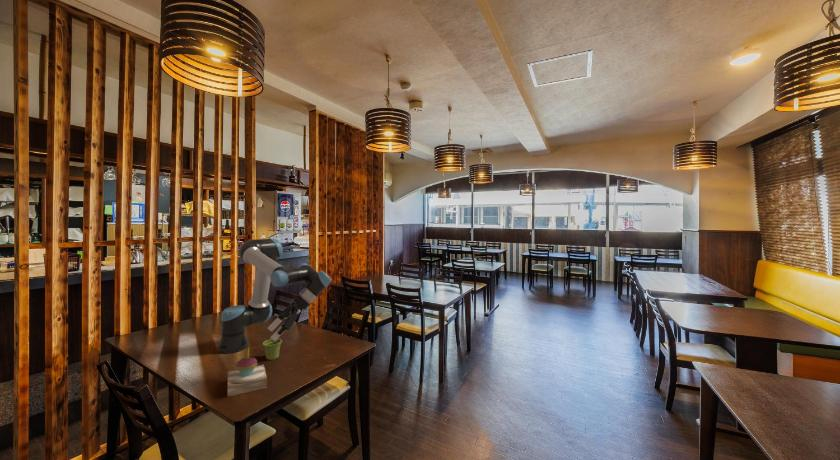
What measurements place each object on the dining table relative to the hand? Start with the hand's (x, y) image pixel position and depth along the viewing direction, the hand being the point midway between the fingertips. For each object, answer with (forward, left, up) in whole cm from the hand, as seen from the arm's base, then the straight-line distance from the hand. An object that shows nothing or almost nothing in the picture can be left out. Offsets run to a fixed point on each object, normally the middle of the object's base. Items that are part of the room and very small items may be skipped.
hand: (270, 334), depth 148 cm
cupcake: (+1, -10, -16) cm, 19 cm away
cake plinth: (0, -10, -21) cm, 23 cm away
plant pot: (-24, +3, -21) cm, 32 cm away
